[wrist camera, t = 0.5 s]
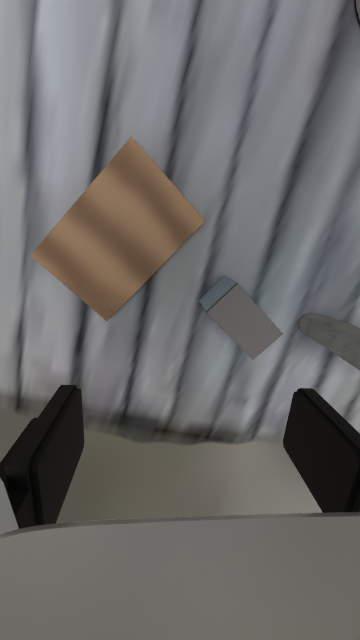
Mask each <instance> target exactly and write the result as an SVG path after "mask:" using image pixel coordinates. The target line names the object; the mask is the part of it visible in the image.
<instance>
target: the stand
mask: <svg viewBox="0 0 360 640" xmlns="http://www.w3.org/2000/svg"><path fill="white" fill-rule="evenodd" d="M204 222H205V220H204V219H203V218H202V216H201V215H200V214H199V213H198V212H197V211H196V210H195V208H194V207H193V206H192V205H191V204H190V203H189V202H188V200H187V199H186V198H185V197H184V196H183V195H182V194H181V192H180V191H179V190H178V189H177V188H176V187H175V186H174V184H173V183H172V182H171V181H170V180H169V179H168V178H167V176H166V175H165V174H164V173H163V172H162V171H161V169H160V168H159V167H158V166H157V165H156V164H155V163H154V161H153V160H152V159H151V158H150V157H149V156H148V155H147V153H146V152H145V151H144V150H143V149H142V148H141V147H140V145H139V144H138V143H137V142H136V141H135V140H134V139H133V137H132V136H131V137H130V139H129V140H128V141H127V142H126V143H125V144H124V146H123V147H122V148H121V149H120V150H119V152H118V153H117V154H116V155H115V156H114V157H113V159H112V160H111V161H110V162H109V163H108V164H107V166H106V167H105V168H104V169H103V170H102V172H101V173H100V174H99V175H98V176H97V177H96V179H95V180H94V181H93V182H92V183H91V185H90V186H89V187H88V188H87V189H86V190H85V192H84V193H83V194H82V195H81V196H80V198H79V199H78V200H77V201H76V202H75V203H74V205H73V206H72V207H71V208H70V209H69V211H68V212H67V213H66V214H65V215H64V216H63V218H62V219H61V220H60V221H59V222H58V224H57V225H56V226H55V227H54V228H53V229H52V231H51V232H50V233H49V234H48V235H47V236H46V238H45V239H44V240H43V241H42V242H41V244H40V245H39V246H38V247H37V248H36V249H35V251H34V252H33V253H32V254H31V255H30V256H32V257H33V258H34V259H35V260H36V261H37V262H39V263H40V264H41V265H42V266H43V267H44V268H46V269H47V270H48V271H49V272H50V273H51V274H53V275H54V276H55V277H56V278H57V279H58V280H60V281H61V282H62V283H63V284H64V285H65V286H67V287H68V288H69V289H70V290H71V291H72V292H74V293H75V294H76V295H77V296H78V297H79V298H81V299H82V300H83V301H84V302H85V303H86V304H88V305H89V306H90V307H91V308H92V309H93V310H94V311H96V312H97V313H98V314H99V315H100V316H101V317H103V318H104V319H105V320H106V321H108V320H109V319H110V318H111V317H112V316H113V315H114V314H115V313H116V312H117V311H118V310H119V308H120V307H121V306H122V305H123V304H124V303H125V302H126V301H127V300H128V299H129V298H130V297H131V296H132V295H133V294H134V293H135V292H136V291H137V290H138V289H139V288H140V287H141V286H142V285H143V284H144V283H145V282H146V281H147V280H148V279H149V278H150V277H151V276H152V275H153V274H154V273H155V272H156V271H157V270H158V269H159V268H160V267H161V266H162V265H163V264H164V262H165V261H166V260H167V259H168V258H169V257H170V256H171V255H172V254H173V253H174V252H175V251H176V250H177V249H178V248H179V247H180V246H181V245H182V244H183V243H184V242H185V241H186V240H187V239H188V238H189V237H190V236H191V235H192V234H193V233H194V232H195V231H196V230H197V229H198V228H199V227H200V226H201V225H202V224H203V223H204Z"/></svg>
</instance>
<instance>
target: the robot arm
mask: <svg viewBox="0 0 360 640" xmlns="http://www.w3.org/2000/svg"><path fill="white" fill-rule="evenodd" d="M356 6H357V12H358V16H359V20H360V0H356ZM283 445H284V448H285V450H286V452H287V453H288V455H289V457H290V458H291V460H292V462H293V463H294V465H295V467H296V468H297V470H298V472H299V473H300V475H301V477H302V478H303V480H304V482H305V483H306V485H307V487H308V488H309V490H310V492H311V493H312V495H313V497H314V498H315V500H316V502H317V503H318V505H319V507H320V508H321V510H322V512H323V513H293V514H292V513H291V514H256V515H225V516H193V517H167V518H141V519H115V520H98V521H81V522H64V523H56V521H57V518H58V515H59V512H60V510H61V508H62V505H63V502H64V499H65V497H66V494H67V491H68V489H69V486H70V483H71V481H72V478H73V475H74V473H75V470H76V467H77V464H78V462H79V459H80V456H81V454H82V451H83V447H84V430H83V413H82V396H81V389H77V387H76V385H61V386H60V387H59V388H58V390H57V391H56V393H55V394H54V395H53V397H52V398H51V400H50V401H49V403H48V404H47V406H46V407H45V408H44V410H43V411H42V413H41V414H40V416H39V417H38V418H34V419H32V420H31V421H30V422H29V424H28V425H27V427H26V428H25V429H24V431H23V432H22V434H21V435H20V436H19V438H18V439H17V440H16V442H15V443H14V445H13V446H12V447H11V449H10V450H9V451H8V453H7V454H6V456H5V457H4V458H3V460H2V461H1V463H0V640H360V433H358V432H357V431H356V430H355V429H354V428H353V427H352V426H351V425H350V424H349V423H348V422H347V421H346V420H345V419H344V418H343V417H342V416H341V415H340V414H339V413H338V412H337V411H336V410H335V409H334V408H333V407H332V406H330V405H329V404H328V403H327V402H326V401H325V400H324V399H323V398H322V397H321V396H320V395H319V394H318V393H317V392H316V391H315V390H314V389H308V388H300V389H298V390H297V392H294V394H293V398H292V403H291V407H290V412H289V416H288V421H287V425H286V430H285V434H284V439H283Z"/></svg>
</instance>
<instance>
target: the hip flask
mask: <svg viewBox="0 0 360 640" xmlns="http://www.w3.org/2000/svg"><path fill="white" fill-rule="evenodd" d="M298 326H299V329H300V330H301V331H302V332H303V333H305V334H306V335H308V336H309V337H311V338H312V339H314V340H315V341H317V342H318V343H320V344H321V345H323V346H324V347H326V348H327V349H329V350H330V351H332V352H333V353H335V354H336V355H338V356H339V357H341V358H342V359H344V360H345V361H347V362H348V363H350V364H351V365H353V366H354V367H356V368H357V369H358V370H360V328H358V327H355V326H353V325H351V324H348V323H346V322H343V321H340V320H337V319H334V318H330V317H327V316H322V315H317V314H306V315H304V316H303V317H302V318H301V319H300V321H299V324H298Z"/></svg>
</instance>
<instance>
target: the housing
mask: <svg viewBox="0 0 360 640" xmlns="http://www.w3.org/2000/svg"><path fill="white" fill-rule="evenodd" d="M199 301H200V303H201V305H202V306H203V308H204V310H205V311H206V313H207V314H208V315H209V316H210V317H211V318H212V319H213V320H214V321H215V322H216V323H217V324H218V325H219V326H220V327H221V328H222V329H223V330H224V331H225V332H226V333H227V334H228V335H229V336H230V337H231V338H232V339H233V340H234V341H235V342H236V343H237V344H238V345H239V346H240V347H241V348H242V349H243V350H244V351H245V352H246V353H247V354H248V355H249V356H250V357H251V358H252V359H255V358H256V357H257V356H258V355H259V354H260V353H262V352H263V351H264V350H265V349H266V348H267V347H269V346H270V345H271V344H272V343H273V342H274V341H276V340H277V339H278V338H279V337H280V336H281V335H283V333H282V332H281V331H280V330H279V329H278V328H277V327H276V326H275V324H274V323H273V322H272V321H271V320H270V319H269V318H268V317H267V316H266V315H265V313H264V312H263V311H262V310H261V309H260V308H259V307H258V306H257V305H256V303H255V302H254V301H253V300H252V299H251V298H250V297H249V296H248V295H247V294H246V292H245V291H244V290H243V289H242V288H241V287H240V286H239V285H238V284H237V283H235V282H234V281H232V280H230V279H229V278H227V277H225V276H224V277H223V278H221V279H220V280H219V281H218V282H217V283H216V284H215V285H214V286H213V287H212V288H211V289H210V290H209V291H208V292H207V293H206V294H205V295H204V296H203V297H202V298H201V299H199Z"/></svg>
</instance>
